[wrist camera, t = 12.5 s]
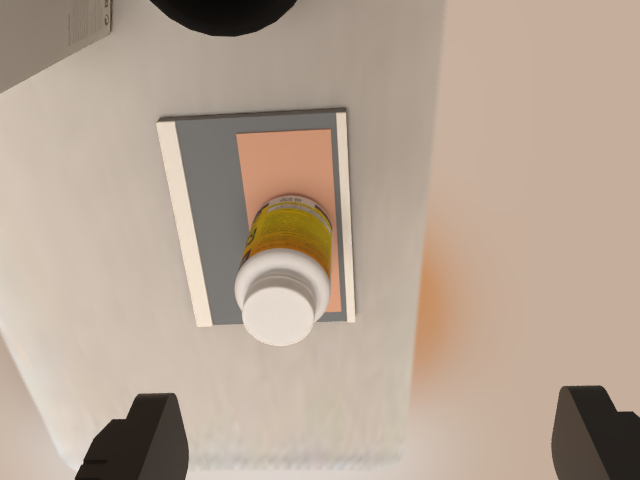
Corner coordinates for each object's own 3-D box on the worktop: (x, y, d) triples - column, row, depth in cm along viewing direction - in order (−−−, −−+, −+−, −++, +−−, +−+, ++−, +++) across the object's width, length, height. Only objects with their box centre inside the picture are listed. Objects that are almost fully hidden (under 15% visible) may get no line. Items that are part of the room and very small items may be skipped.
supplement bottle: (252, 189, 40) (225, 270, 31) (335, 194, 40) (333, 277, 31) (252, 261, 43) (227, 355, 34) (330, 266, 43) (326, 361, 34)
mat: (200, 318, 47) (197, 326, 46) (160, 117, 39) (155, 122, 38) (355, 314, 46) (355, 322, 45) (345, 108, 38) (345, 112, 37)
